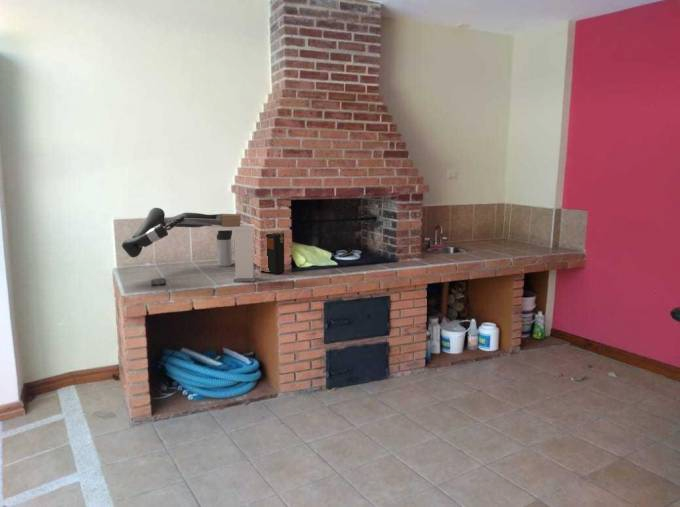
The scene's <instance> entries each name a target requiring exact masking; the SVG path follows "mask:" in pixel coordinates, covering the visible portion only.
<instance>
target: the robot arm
mask: <svg viewBox="0 0 680 507" xmlns="http://www.w3.org/2000/svg"><path fill="white" fill-rule="evenodd" d="M222 214H223V213H218V214H217V213H216V214H204V213H199V212H183V213H180V214H178V215H175V216H172V217H166V216H165V215H166V214H165V211H164V210H163V209H162V208H161V207H152V208H151V209H150V210H149V212H148V214H147V217H146V218H145V220H144V221H143V223H142V225H141V226H140V227H139V228H138V229H137V231H136V232H135V233H134V234H133V235H132V237H131V238H128V239H126V240H124V241H123V242H122V244H121V246H122V248H123V250H124V251H125V252H126V254H127V255H128V256H129V257H130V258H137V257H138V256H140V254H142V253H141V252H142V250H143V247H144V248H147V247H148V246H150V245H152V244H154V243H157V242H159V241H160V240H162V239H164V238H165V237H167V236H168V235H169V233H168V231H172V229H174V228H202V227H211V226H212V225H197V224H179V223H180V222H182V221H184V218H197V219H222ZM175 218H179V219H178V220H175ZM232 235H233V230H225V231H217V234H216V252H217V253H216V254H217V255H216V256H217V259H216V260H217V266H218V267H230V266H232V265H233V255H232V254H233V253H232V248H233V246H232Z"/></svg>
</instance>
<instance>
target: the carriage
mask: <svg viewBox="0 0 680 507" xmlns="http://www.w3.org/2000/svg"><path fill="white" fill-rule="evenodd" d="M221 214H222V219H197V218H184V221H182V222H180V223H179V224H197V225H222V226H240V224H241V214H240V213H239V214H237V213H236V214H235V213H221ZM178 219H179V218H175V220H178Z"/></svg>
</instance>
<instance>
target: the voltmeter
mask: <svg viewBox="0 0 680 507" xmlns="http://www.w3.org/2000/svg"><path fill="white" fill-rule="evenodd" d="M266 237H267V256H268V268H269V271H270V272H271V273H270V274H273V273H274V275H279V273H280V274H283V273H282V272H284V273H285V233H284V232H277V233H273V234H267V235H266Z"/></svg>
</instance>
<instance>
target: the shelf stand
mask: <svg viewBox="0 0 680 507" xmlns="http://www.w3.org/2000/svg"><path fill="white" fill-rule="evenodd" d="M225 230H232V231H233V232H234V261H235V262H234V266H235V268H234V269H235V271H234V272H235V274H234V277H233V282H234V283H243V282H242V281H255V282H256V274H255V273H254V237H253V235H254V234H253V232H254V231H255V224H254V223H253V224H251V223H250V224H249V223H247V224H246V223H243V224H242V223H240V226H222V225H212V226H210V231H212V232H213V231H214V232H215V231H216V232H218V231H225Z"/></svg>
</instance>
